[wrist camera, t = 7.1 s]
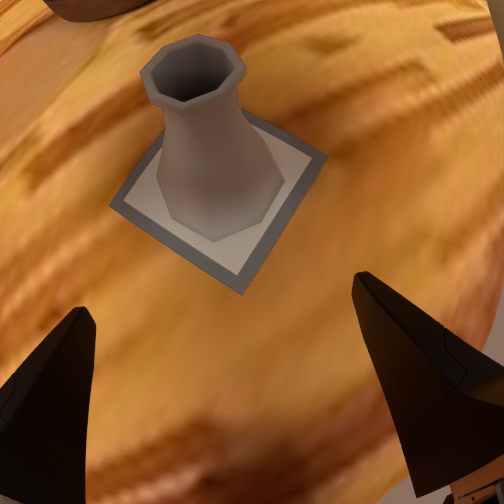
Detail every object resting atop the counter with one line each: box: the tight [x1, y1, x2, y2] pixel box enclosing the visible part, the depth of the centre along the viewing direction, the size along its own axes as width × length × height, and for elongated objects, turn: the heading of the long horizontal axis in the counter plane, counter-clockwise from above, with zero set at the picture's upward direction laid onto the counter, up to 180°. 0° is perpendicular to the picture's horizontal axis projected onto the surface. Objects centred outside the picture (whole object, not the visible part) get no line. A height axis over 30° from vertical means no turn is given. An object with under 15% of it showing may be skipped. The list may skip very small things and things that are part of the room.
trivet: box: [109, 109, 328, 295], centre depth 19 cm, size 10×10×3 cm
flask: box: [140, 34, 285, 243], centre depth 13 cm, size 7×7×10 cm
